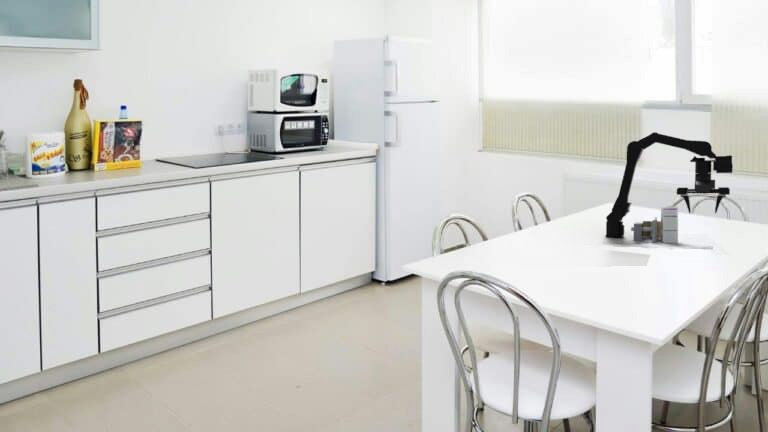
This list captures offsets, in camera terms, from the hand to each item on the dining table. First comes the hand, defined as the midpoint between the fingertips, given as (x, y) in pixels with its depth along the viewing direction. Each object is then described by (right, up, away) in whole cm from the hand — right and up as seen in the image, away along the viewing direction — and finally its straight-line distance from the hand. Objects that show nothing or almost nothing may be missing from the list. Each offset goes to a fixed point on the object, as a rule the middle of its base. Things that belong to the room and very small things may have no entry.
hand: (702, 213), depth 264 cm
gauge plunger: (-19, -11, +12) cm, 25 cm away
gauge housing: (-17, -12, +10) cm, 23 cm away
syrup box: (-11, -12, +6) cm, 17 cm away
